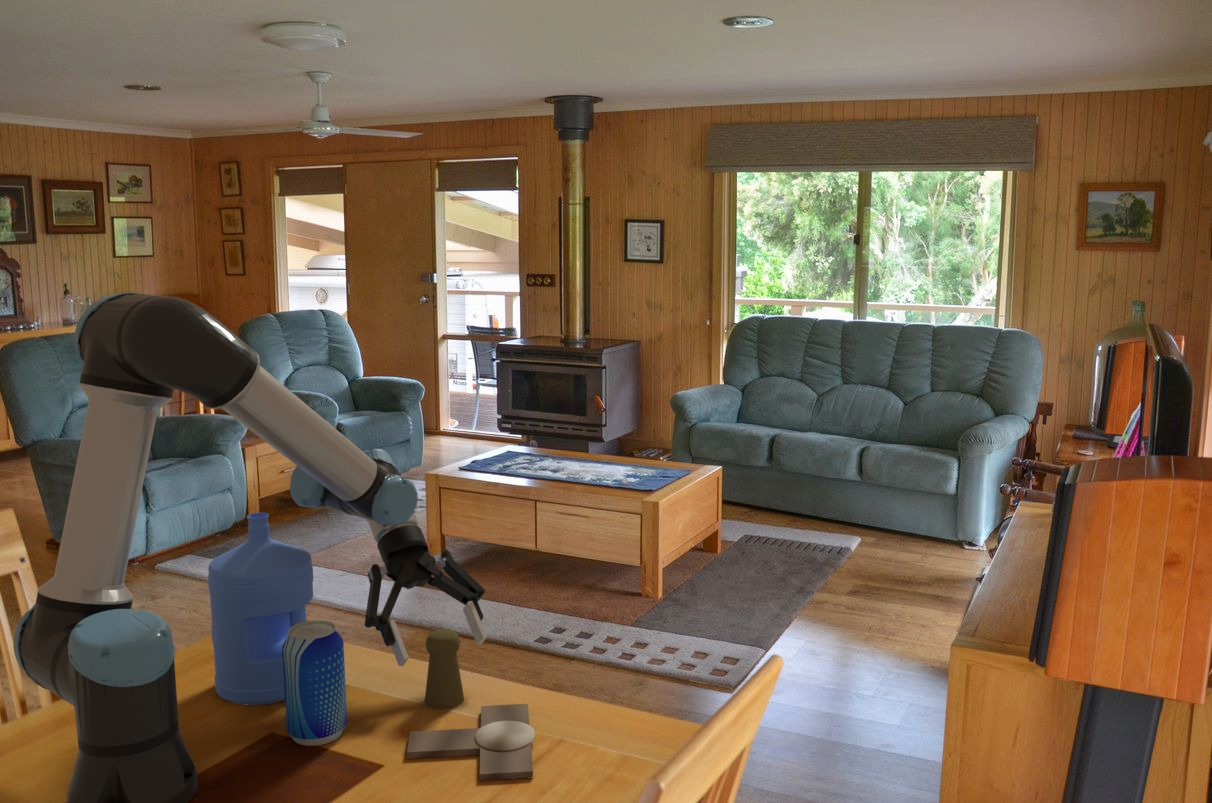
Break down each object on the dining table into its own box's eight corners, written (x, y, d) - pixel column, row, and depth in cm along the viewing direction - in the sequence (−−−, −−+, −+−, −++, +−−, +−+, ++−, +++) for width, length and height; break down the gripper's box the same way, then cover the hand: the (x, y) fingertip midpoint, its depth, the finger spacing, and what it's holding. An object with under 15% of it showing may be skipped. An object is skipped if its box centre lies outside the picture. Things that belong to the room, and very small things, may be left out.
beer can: (318, 716, 156) (313, 613, 153) (359, 729, 152) (355, 624, 149) (274, 739, 149) (268, 632, 146) (316, 754, 144) (311, 644, 142)
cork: (456, 710, 157) (454, 641, 156) (418, 707, 159) (416, 638, 157) (469, 693, 163) (467, 626, 162) (433, 689, 164) (431, 623, 163)
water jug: (193, 697, 162) (180, 523, 158) (262, 659, 176) (253, 498, 172) (273, 714, 156) (263, 534, 152) (338, 674, 170) (330, 508, 166)
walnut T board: (402, 785, 136) (402, 776, 136) (413, 715, 156) (413, 707, 156) (538, 777, 138) (538, 768, 138) (532, 709, 158) (532, 701, 157)
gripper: (458, 533, 181) (504, 642, 172) (319, 561, 166) (362, 682, 157) (472, 510, 176) (521, 622, 167) (330, 537, 161) (375, 660, 152)
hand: (444, 651), depth 162 cm, fingers open, 13 cm apart
